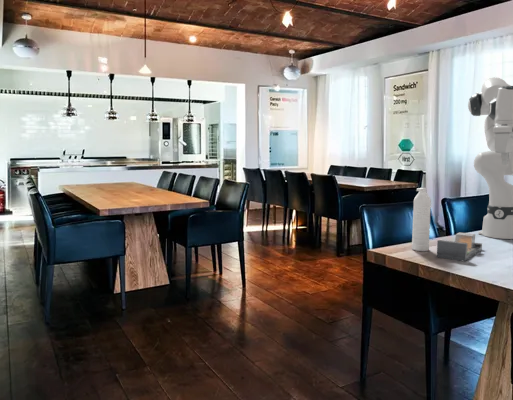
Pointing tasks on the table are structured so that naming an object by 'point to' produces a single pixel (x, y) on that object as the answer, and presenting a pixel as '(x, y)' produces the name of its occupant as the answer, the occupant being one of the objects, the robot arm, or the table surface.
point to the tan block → (466, 239)
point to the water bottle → (421, 221)
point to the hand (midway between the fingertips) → (504, 164)
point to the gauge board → (456, 250)
